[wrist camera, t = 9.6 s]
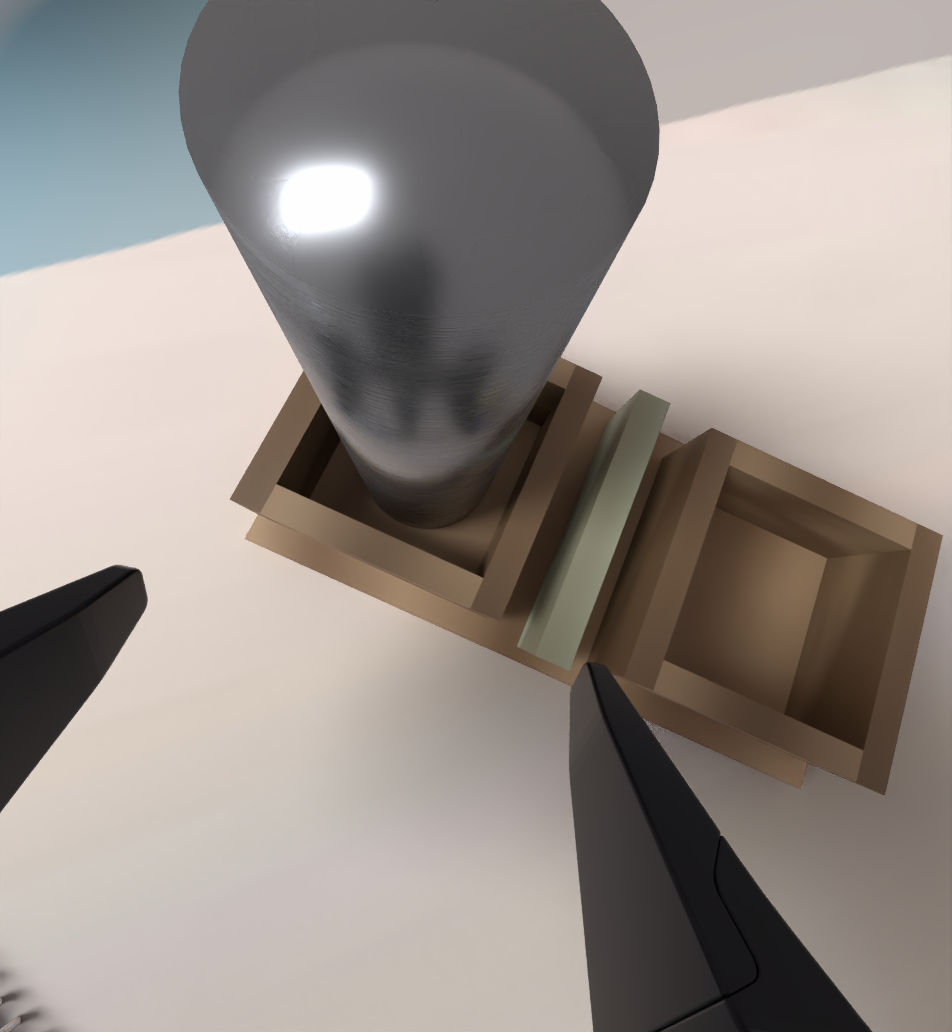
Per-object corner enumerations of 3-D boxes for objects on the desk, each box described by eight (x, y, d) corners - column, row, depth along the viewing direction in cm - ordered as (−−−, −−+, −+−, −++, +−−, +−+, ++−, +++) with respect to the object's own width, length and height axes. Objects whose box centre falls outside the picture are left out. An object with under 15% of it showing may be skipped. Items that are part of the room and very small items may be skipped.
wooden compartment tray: (851, 531, 21) (958, 514, 17) (785, 781, 19) (888, 833, 15) (378, 312, 20) (366, 238, 16) (252, 541, 18) (200, 523, 14)
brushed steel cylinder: (479, 539, 18) (634, 363, 5) (351, 516, 18) (111, 251, 4) (499, 420, 19) (678, -19, 6) (378, 395, 19) (251, -136, 5)
